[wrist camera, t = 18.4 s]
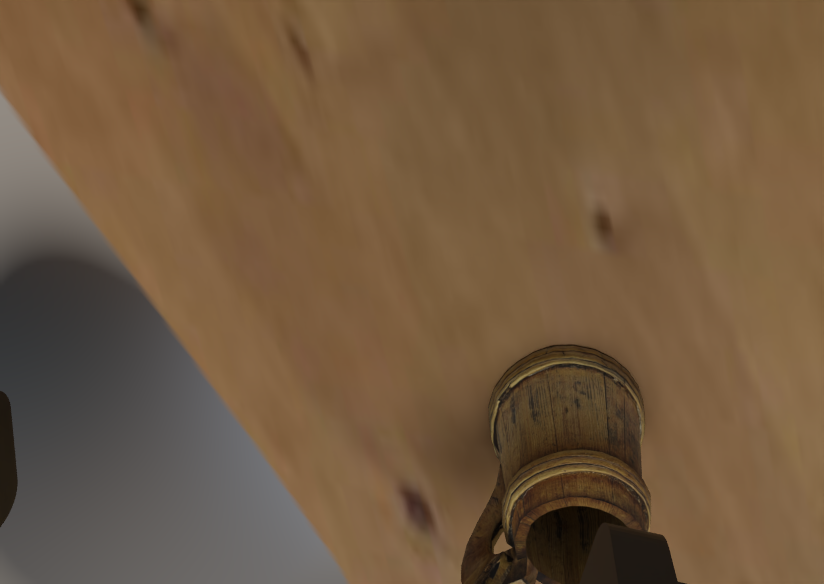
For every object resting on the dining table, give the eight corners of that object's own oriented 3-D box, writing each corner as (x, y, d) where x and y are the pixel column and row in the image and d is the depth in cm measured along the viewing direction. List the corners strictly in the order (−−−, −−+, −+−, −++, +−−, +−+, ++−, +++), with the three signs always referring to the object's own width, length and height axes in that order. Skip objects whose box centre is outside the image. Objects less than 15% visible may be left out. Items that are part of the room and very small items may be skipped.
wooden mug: (399, 420, 45) (330, 674, 29) (595, 319, 40) (646, 551, 24) (477, 521, 47) (454, 810, 31) (671, 436, 43) (764, 721, 26)
